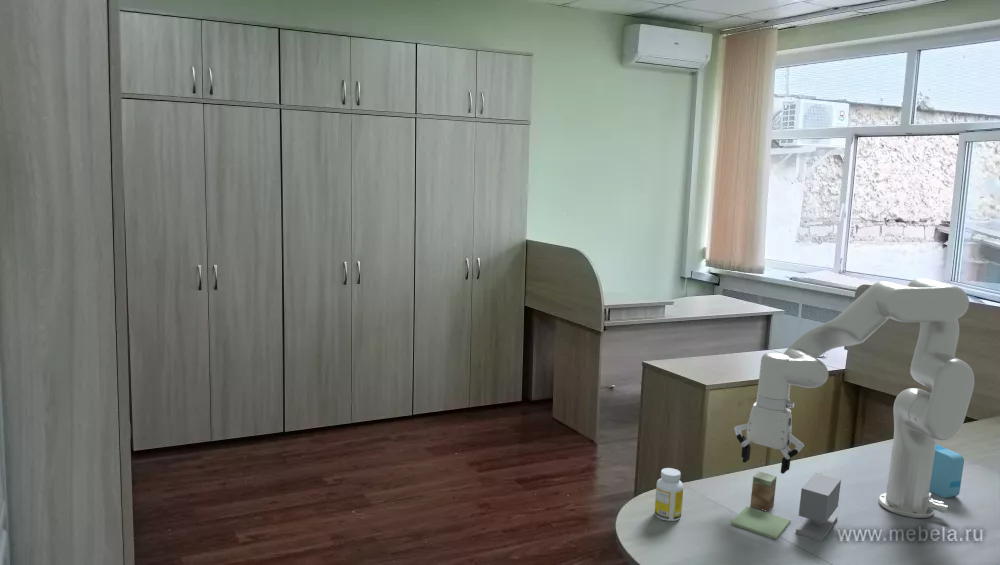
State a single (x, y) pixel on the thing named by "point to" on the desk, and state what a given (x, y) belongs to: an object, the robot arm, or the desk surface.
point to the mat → (761, 522)
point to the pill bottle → (669, 495)
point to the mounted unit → (818, 506)
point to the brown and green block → (763, 491)
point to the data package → (946, 472)
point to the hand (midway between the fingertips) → (764, 466)
